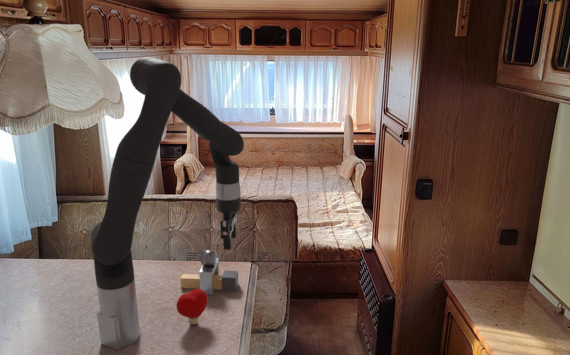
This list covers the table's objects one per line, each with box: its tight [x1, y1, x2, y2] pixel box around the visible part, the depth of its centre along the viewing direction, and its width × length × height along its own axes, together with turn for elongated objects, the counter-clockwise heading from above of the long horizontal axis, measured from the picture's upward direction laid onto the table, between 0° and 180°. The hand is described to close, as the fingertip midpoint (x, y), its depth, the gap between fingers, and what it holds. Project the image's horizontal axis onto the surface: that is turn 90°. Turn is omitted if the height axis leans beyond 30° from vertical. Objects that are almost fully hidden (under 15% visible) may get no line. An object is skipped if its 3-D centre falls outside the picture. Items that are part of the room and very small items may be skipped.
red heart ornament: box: [175, 288, 209, 326], centre depth 120 cm, size 9×7×10 cm
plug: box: [179, 269, 239, 292], centre depth 140 cm, size 18×4×5 cm, turn 86°
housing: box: [198, 249, 220, 296], centre depth 139 cm, size 4×10×13 cm, turn 176°
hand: (230, 243), depth 136 cm, fingers open, 8 cm apart
